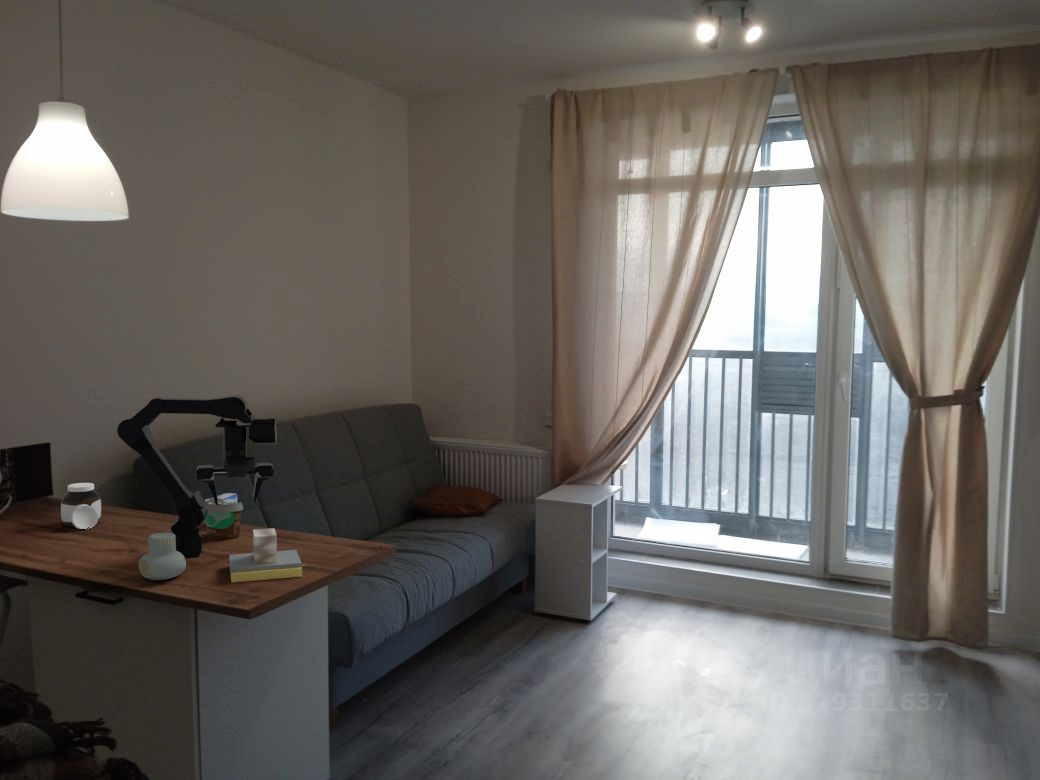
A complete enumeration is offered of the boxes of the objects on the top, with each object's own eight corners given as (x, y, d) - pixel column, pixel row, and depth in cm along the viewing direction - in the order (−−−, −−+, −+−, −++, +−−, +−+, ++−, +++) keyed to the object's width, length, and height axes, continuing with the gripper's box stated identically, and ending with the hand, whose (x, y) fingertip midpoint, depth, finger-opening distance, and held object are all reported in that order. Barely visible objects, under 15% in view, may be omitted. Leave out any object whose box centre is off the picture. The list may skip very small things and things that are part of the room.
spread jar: (85, 519, 250) (84, 480, 249) (115, 523, 246) (114, 484, 245) (51, 528, 239) (50, 488, 238) (81, 532, 235) (80, 491, 234)
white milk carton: (254, 564, 199) (254, 537, 199) (252, 555, 207) (252, 529, 206) (276, 562, 201) (276, 535, 200) (274, 553, 208) (274, 527, 208)
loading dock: (231, 582, 195) (231, 569, 194) (229, 566, 207) (229, 554, 206) (302, 576, 200) (302, 564, 200) (296, 561, 212) (296, 549, 212)
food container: (192, 537, 232) (192, 502, 232) (208, 532, 238) (208, 497, 237) (227, 543, 228) (227, 506, 227) (243, 537, 233) (243, 502, 233)
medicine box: (223, 528, 243) (223, 498, 243) (209, 527, 244) (209, 497, 243) (238, 522, 251) (237, 493, 250) (224, 521, 252) (224, 492, 251)
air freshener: (189, 579, 197) (189, 537, 196) (153, 586, 191) (153, 543, 190) (170, 568, 204) (170, 528, 203) (135, 575, 199) (134, 533, 198)
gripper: (196, 450, 205) (197, 513, 207) (275, 447, 212) (275, 508, 213) (196, 443, 216) (197, 503, 217) (271, 441, 222) (272, 499, 224)
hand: (235, 503), depth 217 cm, fingers open, 9 cm apart
